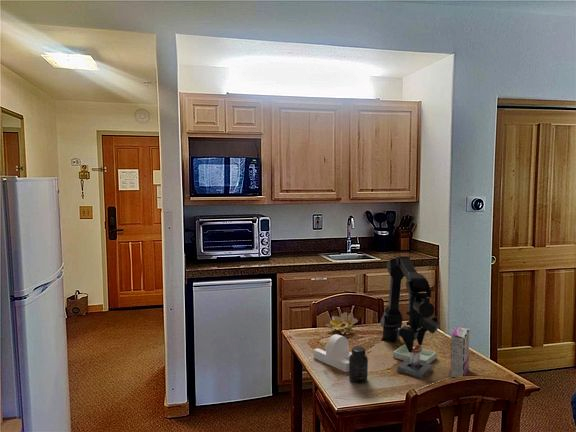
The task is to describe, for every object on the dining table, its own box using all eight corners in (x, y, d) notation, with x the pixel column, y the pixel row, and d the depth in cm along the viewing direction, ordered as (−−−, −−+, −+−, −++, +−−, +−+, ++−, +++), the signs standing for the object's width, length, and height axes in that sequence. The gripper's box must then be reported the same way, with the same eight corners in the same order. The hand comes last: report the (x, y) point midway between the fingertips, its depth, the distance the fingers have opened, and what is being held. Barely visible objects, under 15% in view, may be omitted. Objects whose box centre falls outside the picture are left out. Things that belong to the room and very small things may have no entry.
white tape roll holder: (362, 365, 168) (362, 339, 167) (346, 373, 161) (346, 345, 160) (329, 352, 181) (329, 327, 180) (313, 358, 175) (313, 332, 174)
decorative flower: (319, 326, 208) (324, 306, 208) (335, 327, 215) (340, 308, 215) (340, 337, 196) (345, 316, 196) (356, 337, 203) (361, 317, 203)
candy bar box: (455, 366, 167) (456, 326, 166) (468, 369, 164) (470, 328, 163) (449, 377, 157) (451, 334, 156) (463, 380, 155) (465, 337, 153)
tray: (393, 357, 175) (393, 351, 175) (404, 349, 183) (404, 344, 183) (425, 367, 166) (426, 360, 166) (436, 358, 174) (436, 352, 174)
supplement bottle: (347, 376, 158) (347, 345, 157) (364, 375, 159) (365, 344, 158) (351, 384, 151) (351, 352, 150) (369, 384, 152) (370, 351, 151)
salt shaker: (406, 371, 162) (407, 347, 162) (411, 366, 166) (412, 343, 165) (418, 374, 159) (419, 350, 159) (423, 370, 163) (423, 346, 162)
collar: (397, 371, 162) (397, 366, 162) (408, 362, 170) (408, 358, 170) (422, 379, 156) (422, 373, 156) (432, 370, 163) (432, 365, 163)
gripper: (427, 319, 149) (426, 362, 150) (446, 307, 163) (444, 346, 164) (398, 313, 156) (397, 354, 157) (418, 302, 170) (417, 339, 171)
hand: (415, 348), depth 162 cm, fingers open, 9 cm apart
